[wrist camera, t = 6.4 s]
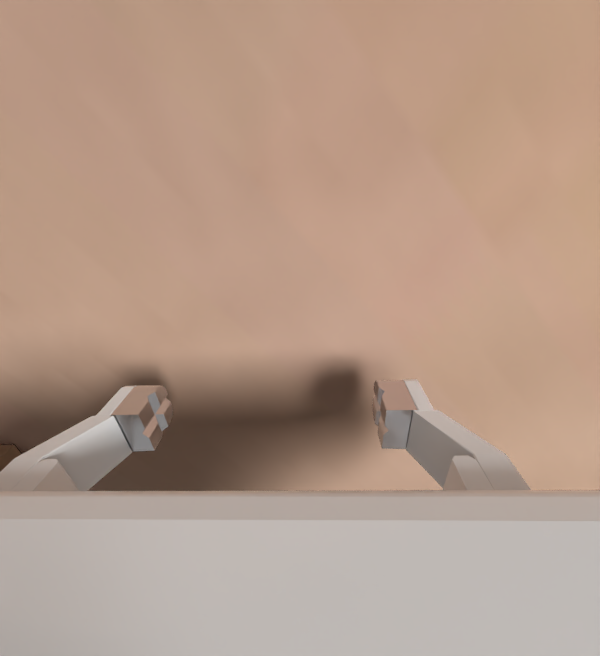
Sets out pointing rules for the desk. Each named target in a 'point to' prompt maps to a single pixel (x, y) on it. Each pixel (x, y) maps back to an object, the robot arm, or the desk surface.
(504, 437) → the desk surface
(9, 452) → the bridge
